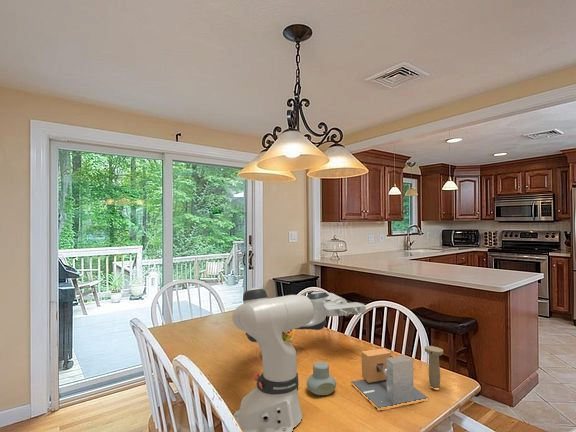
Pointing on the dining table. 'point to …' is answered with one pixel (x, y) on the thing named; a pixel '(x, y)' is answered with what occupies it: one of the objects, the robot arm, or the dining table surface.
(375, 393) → the base board
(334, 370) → the dining table surface
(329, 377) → the air freshener
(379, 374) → the orange block
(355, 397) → the dining table surface
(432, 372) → the handle
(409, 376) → the grey block with rod
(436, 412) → the dining table surface
